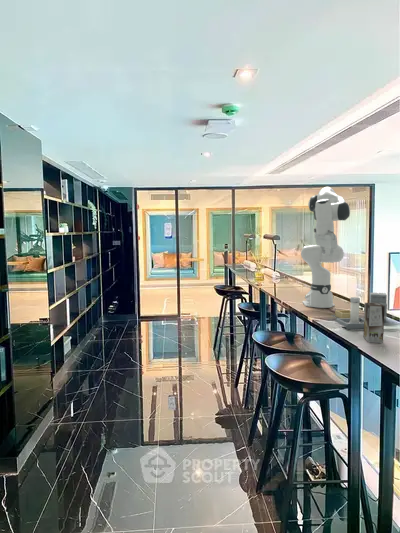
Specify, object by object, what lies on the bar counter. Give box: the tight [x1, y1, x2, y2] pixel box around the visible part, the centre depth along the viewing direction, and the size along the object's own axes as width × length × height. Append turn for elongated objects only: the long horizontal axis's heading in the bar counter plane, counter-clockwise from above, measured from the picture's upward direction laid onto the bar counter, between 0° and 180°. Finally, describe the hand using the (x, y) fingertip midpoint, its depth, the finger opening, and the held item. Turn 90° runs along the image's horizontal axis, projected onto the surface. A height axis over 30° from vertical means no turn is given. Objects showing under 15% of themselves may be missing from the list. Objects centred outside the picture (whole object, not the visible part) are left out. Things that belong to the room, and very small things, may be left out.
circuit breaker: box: [369, 292, 388, 322], centre depth 206 cm, size 8×14×15 cm, turn 158°
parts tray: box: [335, 317, 364, 331], centre depth 199 cm, size 12×14×3 cm
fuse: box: [349, 296, 361, 323], centre depth 198 cm, size 4×4×14 cm
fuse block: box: [330, 309, 350, 319], centre depth 214 cm, size 12×12×4 cm
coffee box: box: [363, 302, 385, 344], centre depth 174 cm, size 9×6×16 cm
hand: (327, 254), depth 215 cm, fingers open, 8 cm apart
